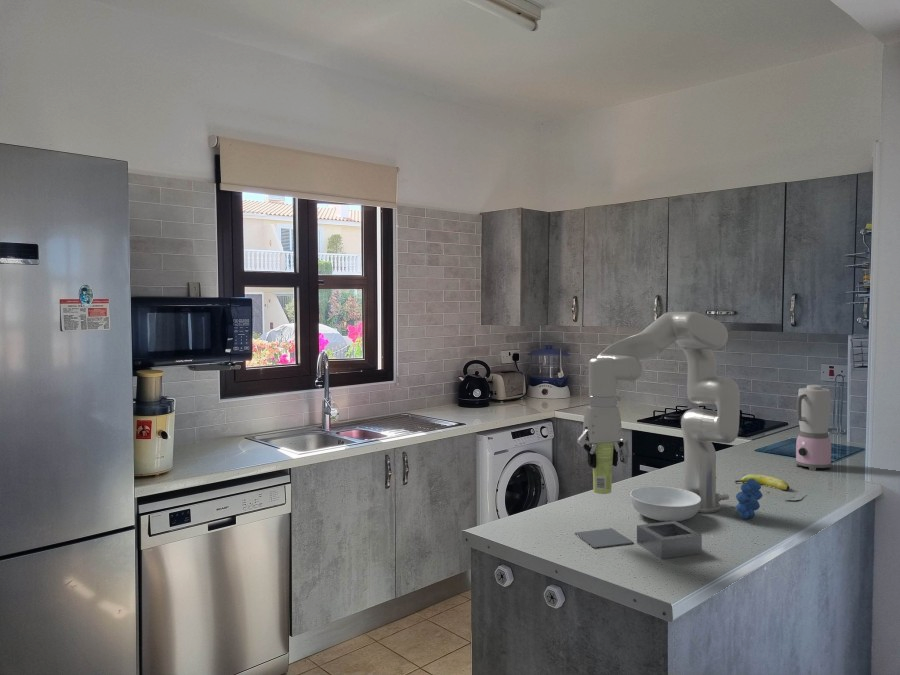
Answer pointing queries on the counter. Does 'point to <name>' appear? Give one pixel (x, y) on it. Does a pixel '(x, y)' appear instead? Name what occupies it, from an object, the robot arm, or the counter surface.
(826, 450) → the blender
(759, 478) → the banana
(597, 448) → the tube
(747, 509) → the grapes
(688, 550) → the housing
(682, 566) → the counter surface
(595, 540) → the mat
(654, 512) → the serving bowl
